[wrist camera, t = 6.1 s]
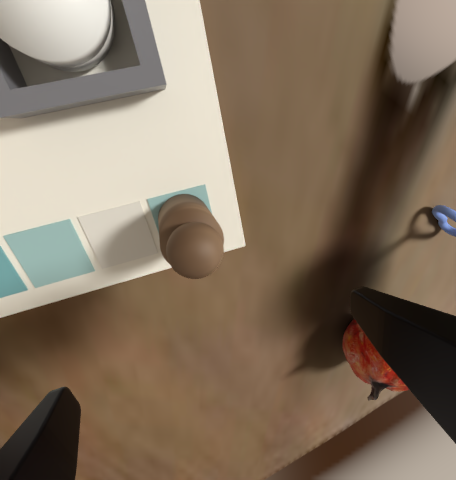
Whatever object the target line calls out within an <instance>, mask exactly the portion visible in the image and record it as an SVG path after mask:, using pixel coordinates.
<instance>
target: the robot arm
mask: <svg viewBox="0 0 456 480" xmlns="http://www.w3.org/2000/svg"><path fill="white" fill-rule="evenodd" d="M350 310H351V314H352V316H353V317H354V319H355V320H356V322H357V323H358V324H359V326H360V327H361V329H362V330H363V332H364V333H365V334H366V336H367V337H368V339H369V340H370V342H371V343H372V344H373V346H374V347H375V349H376V350H377V351H378V353H379V354H380V355H381V357H382V358H383V359H384V360H385V362H386V363H387V364H388V365H389V366H390V368H391V369H392V370H393V371H394V372H395V373H396V375H397V376H398V377H399V378H400V379H401V380H402V382H403V383H404V384H405V385H406V386H407V387H408V389H409V390H410V391H411V392H412V393H413V394H414V396H415V397H416V398H417V399H418V400H419V401H420V403H421V404H422V405H423V406H424V407H425V408H426V410H427V411H428V412H429V413H430V414H431V415H432V416H433V418H434V419H435V420H436V421H437V422H438V424H439V425H440V426H441V427H442V428H443V429H444V431H445V432H446V433H447V434H448V435H449V436H450V437H451V439H452V440H453V441H454V442H455V443H456V316H454V315H451V314H447V313H444V312H441V311H438V310H435V309H432V308H429V307H426V306H423V305H419V304H416V303H413V302H410V301H407V300H404V299H401V298H398V297H395V296H391V295H388V294H385V293H382V292H379V291H376V290H373V289H370V288H367V287H360V288H357V289H354V290H352V291H351V293H350ZM80 416H81V408H80V404H79V402H78V401H77V400H76V398H75V397H74V395H73V394H72V392H71V391H70V389H69V388H67V387H61V388H58V389H55V390H52V391H50V392H49V393H48V394H47V395H46V396H45V398H44V399H43V400H42V401H41V402H40V403H39V405H38V406H37V407H36V408H35V409H34V410H33V412H32V413H31V414H30V415H29V416H28V418H27V419H26V420H25V421H24V422H23V423H22V425H21V426H20V427H19V428H18V429H17V430H16V432H15V433H14V434H13V435H12V436H11V437H10V439H9V440H8V441H7V442H6V443H5V444H4V446H3V447H2V448H1V449H0V480H75V475H76V467H77V456H78V443H79V429H80Z"/></svg>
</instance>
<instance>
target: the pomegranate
mask: <svg viewBox="0 0 456 480" xmlns="http://www.w3.org/2000/svg"><path fill="white" fill-rule="evenodd" d="M343 351H344V354H345V356H346V359H347V361H348V363H349V364H350V366H351V368H352V370H353V372H354V373H355V375H356V376H357V377H358V378H360V379H361V380H362V381H364V382H365V383H368V384H371V385H372V391H371V394H370V396H369V397H368V400H376V399H377V398H378V396H379V394H380V392H381V391H382V390H383V389H384V388H387V389H389V390H391V391H405V390H409V389H408V387H407V386H406V385H405V384H404V383H403V382H402V380H401V379H400V378H399V377H398V376H397V375H396V373H395V372H394V371H393V370H392V369H391V368H390V366H389V365H388V364H387V363H386V362H385V360H384V359H383V358H382V357H381V355H380V354H379V353H378V351H377V350H376V349H375V347H374V346H373V344H372V343H371V342H370V340H369V339H368V337H367V336H366V334H365V333H364V332H363V330H362V329H361V327H360V326H359V324H358V323H357V322H356V320H355V319H353V320H352V321H351V323H350V324H349V325H348V327H347V328H346V330H345V333H344V336H343Z"/></svg>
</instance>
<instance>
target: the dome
mask: <svg viewBox="0 0 456 480" xmlns="http://www.w3.org/2000/svg"><path fill="white" fill-rule="evenodd" d="M114 36H115V14H114V9H113V5H112V2H111V0H0V38H1V39H2V40H3V41H4V42H6V43H7V44H9V45H10V46H11V47H13V48H15V49H17V50H18V51H20V52H22V53H24V54H26V55H28V56H30V57H32V58H34V59H36V60H38V61H40V62H42V63H44V64H45V65H47V66H50V67H52V68H55V69H58V70H61V71H67V72H80V71H85V70H88V69H91V68H93V67H95V66H96V65H98V64H99V63H100V62H101V61H102V60H103V59H104V58H105V57H106V56H107V54H108V53H109V51H110V49H111V47H112V44H113V41H114Z"/></svg>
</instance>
